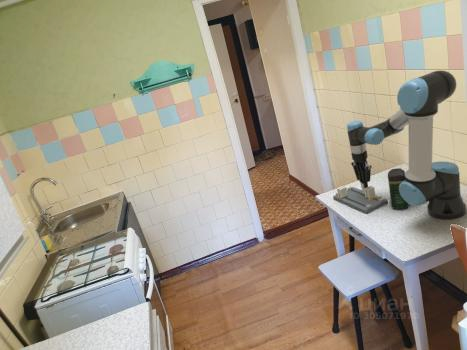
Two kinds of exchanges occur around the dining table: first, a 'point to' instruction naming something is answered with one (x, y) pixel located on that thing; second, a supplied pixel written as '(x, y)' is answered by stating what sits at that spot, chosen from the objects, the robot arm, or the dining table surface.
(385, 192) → the dining table surface
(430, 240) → the dining table surface
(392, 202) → the coffee jar
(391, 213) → the dining table surface
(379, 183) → the dining table surface
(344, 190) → the fader
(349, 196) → the console
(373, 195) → the fader
